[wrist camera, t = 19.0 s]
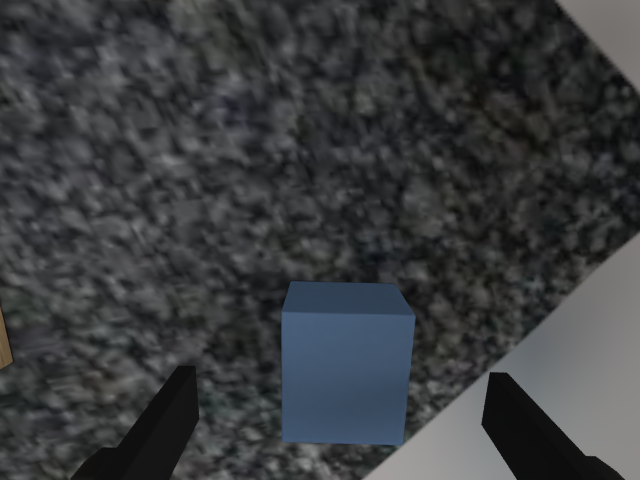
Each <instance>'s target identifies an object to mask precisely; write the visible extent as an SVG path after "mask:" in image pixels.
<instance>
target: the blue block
mask: <svg viewBox="0 0 640 480" xmlns="http://www.w3.org/2000/svg"><path fill="white" fill-rule="evenodd" d="M415 317H416V316H415V314H414V313H413V311H412V310H411V308H410V307H409V305H408V304H407V302H406V300H405V299H404V297H403V296H402V294H401V293H400V291H399V290H398V288H397V287H396V285H395V284H388V283H348V282H309V281H291V282H290V285H289V289H288V292H287V295H286V299H285V302H284V305H283V309H282V312H281V371H282V441H283V442H307V443H342V444H377V445H402V444H403V436H404V426H405V416H406V406H407V396H408V386H409V376H410V366H411V356H412V347H413V337H414V327H415Z"/></svg>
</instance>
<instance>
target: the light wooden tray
mask: <svg viewBox="0 0 640 480" xmlns="http://www.w3.org/2000/svg"><path fill="white" fill-rule="evenodd" d="M12 362H13V359H12V355H11V351H10V346H9V342H8V337H7V333H6V329H5V324H4V320H3V316H2V311H1V307H0V369H2V368H3V367H5V366H7V365H9V364H10V363H12Z"/></svg>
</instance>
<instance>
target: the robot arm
mask: <svg viewBox="0 0 640 480" xmlns="http://www.w3.org/2000/svg"><path fill="white" fill-rule="evenodd" d="M198 420H199V408H198V395H197V382H196V368H195V366H178V367H177V368H176V369H175V371H174V372H173V373H172V375H171V376H170V377H169V379H168V380H167V381H166V383H165V384H164V385H163V387H162V388H161V389H160V391H159V392H158V393H157V395H156V396H155V397H154V399H153V400H152V401H151V403H150V404H149V405H148V407H147V408H146V409H145V411H144V412H143V413H142V415H141V416H140V417H139V419H138V420H137V421H136V423H135V424H134V425H133V427H132V428H131V429H130V431H129V432H128V433H127V435H126V436H125V437H124V439H123V440H122V441H121V443H120V444H119V445H118V447H117V448H107V447H102V448H101V449H100V450H99V451H97V452H96V453H95V454H94V455H92V456H91V457H90V458H89V459H87V460H86V461H85V462H84V463H83V464H82V465H81V467H80V468H79V469H78V470H77V471H76V473H75V474H74V475H73V476H72V477H71V480H169V479H170V477H171V475H172V472H173V470H174V468H175V466H176V464H177V462H178V460H179V458H180V456H181V454H182V452H183V450H184V448H185V446H186V444H187V442H188V440H189V438H190V436H191V434H192V432H193V430H194V428H195V426H196V424H197V422H198ZM481 425H482V426H483V428H484V429H485V431H486V432H487V434H488V435H489V437H490V439H491V440H492V442H493V443H494V445H495V446H496V448H497V450H498V451H499V453H500V454H501V456H502V457H503V459H504V460H505V462H506V463H507V465H508V467H509V468H510V470H511V471H512V473H513V474H514V476H515V477H516V479H517V480H625V479H624V478H622V476H621V475H620V474H619V473H618V472H617V471H615V470H614V469H613V468H611V467H610V466H608V465H607V464H606V463H604V462H603V461H601V460H600V459H599V458H597V457H596V456H585V455H584V454H583V452H582V451H580V449H579V448H578V447H577V446H576V445H575V444H574V443H573V442H572V441H571V440H570V439H569V438H568V437H567V436H566V435H565V433H564V432H563V431H562V430H561V429H560V428H559V427H558V426H557V425H556V424H555V423H554V422H553V421H552V420H551V419H550V418H549V417H548V416H547V415H546V413H545V412H544V411H543V410H542V409H541V408H540V407H539V406H538V405H537V404H536V403H535V402H534V401H533V400H532V399H531V398H530V396H528V394H527V393H526V392H525V391H524V390H523V389H522V388H521V387H520V386H519V385H518V384H517V383H516V382H515V381H514V380H513V379H512V377H511V376H510V375H509V374H508V373H498V372H490V374H489V381H488V387H487V393H486V399H485V405H484V411H483V417H482V424H481Z"/></svg>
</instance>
